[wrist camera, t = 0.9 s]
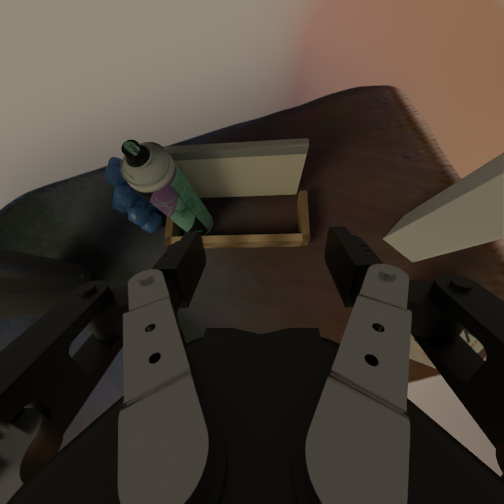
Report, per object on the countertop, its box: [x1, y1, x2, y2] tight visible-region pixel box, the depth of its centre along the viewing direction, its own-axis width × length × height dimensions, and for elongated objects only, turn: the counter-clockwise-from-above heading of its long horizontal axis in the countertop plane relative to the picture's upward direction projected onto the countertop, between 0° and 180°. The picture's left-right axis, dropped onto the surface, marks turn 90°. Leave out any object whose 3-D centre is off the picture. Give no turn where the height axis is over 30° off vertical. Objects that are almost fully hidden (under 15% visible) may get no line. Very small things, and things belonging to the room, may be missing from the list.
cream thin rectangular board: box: [163, 138, 309, 198], centre depth 33 cm, size 21×2×13 cm, turn 90°
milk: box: [383, 153, 504, 262], centre depth 25 cm, size 6×6×22 cm
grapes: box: [105, 157, 163, 233], centre depth 34 cm, size 12×7×12 cm, turn 22°
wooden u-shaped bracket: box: [164, 191, 310, 248], centre depth 37 cm, size 24×9×4 cm, turn 90°
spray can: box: [121, 140, 213, 236], centre depth 29 cm, size 6×6×20 cm
